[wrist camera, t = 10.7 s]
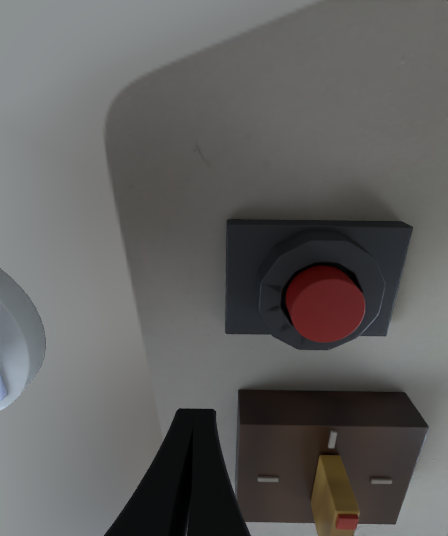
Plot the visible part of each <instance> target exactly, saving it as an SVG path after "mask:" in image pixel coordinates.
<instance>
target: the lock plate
mask: <svg viewBox="0 0 448 536" xmlns="http://www.w3.org/2000/svg"><path fill="white" fill-rule="evenodd" d="M428 430H429V426H428V425H427V423H426V422H425V420H424V419H423V417H422V416H421V415H420V413H419V412H418V410H417V409H416V407H415V406H414V404H413V403H412V402H411V400H410V399H409V397H408V396H407V394H406V393H405V392H340V391H274V390H238V413H237V441H236V470H235V497H236V500H237V502H238V505H239V508H240V510H241V513H242V515H243V518H244V520H245V522H284V523H315V521H314V517H313V512H312V508H311V498H312V492H313V487H314V482H315V477H316V472H317V466H318V461H319V456H320V455H340V457H341V459H342V462H343V465H344V468H345V471H346V474H347V476H348V479H349V482H350V485H351V488H352V491H353V493H354V496H355V499H356V502H357V505H358V508H359V510H360V514H359V517H358V518H359V521H358V524H396V521H397V518H398V515H399V512H400V510H401V507H402V504H403V501H404V498H405V495H406V492H407V490H408V487H409V484H410V481H411V478H412V475H413V473H414V470H415V467H416V464H417V461H418V458H419V455H420V453H421V450H422V447H423V444H424V441H425V438H426V435H427V433H428Z"/></svg>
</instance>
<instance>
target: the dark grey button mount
mask: <svg viewBox="0 0 448 536" xmlns="http://www.w3.org/2000/svg"><path fill="white" fill-rule="evenodd" d="M412 229H413V227H412V226H410V225H408V224H406V223H404V222H402V221H323V220H243V219H228V220H227V239H226V311H225V333H226V334H266V335H272V336H273V337H275V338H277V339H279V340H281V341H283V342H285V343H287V344H288V345H290V346H292V347H294V348H296V349H299V350H329V349H332V348H335V347H337V346H339V345H342V344H344V343H346V342H349V341H351V340H353V339H356V338H357V337H359V336H386V335H387V332H388V328H389V324H390V320H391V315H392V311H393V307H394V303H395V299H396V295H397V291H398V287H399V283H400V279H401V274H402V270H403V266H404V262H405V258H406V254H407V250H408V246H409V242H410V238H411V233H412ZM319 265H327V266H333V267H336V268H338V269H340V270H342V271H343V272H344V273H345V274H346V275H347V276H348V277H349V278H350V279H351V280H352V281H353V283H354V284H355V285H356V286H357V287H358V288H359V290H360V291H361V292H362V294H363V296H364V299H365V314H364V317H363V319H362V321H361V323H360V325H359V326H358V327H357V328H356V329H355V330H354V331H353V332H352V333H351V334H350V335H348V336H346V337H345V338H342V339H340V340H337V341H333V342H324V343H323V342H315V341H312V340H309V339H307V338H305V337H304V336H302V335H301V334H300V333H299V332H298V331H297V330H296V329H295V327H294V325H293V323H292V320H291V317H290V314H289V311H288V308H287V305H286V292H287V288H288V286H289V284H290V283H291V281H292V280H293V279H294V277H295V276H297V275H298V274H299V273H300V272H302V271H303V270H305V269H307V268H310V267H313V266H319Z"/></svg>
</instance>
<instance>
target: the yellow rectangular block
mask: <svg viewBox="0 0 448 536" xmlns="http://www.w3.org/2000/svg"><path fill="white" fill-rule="evenodd" d="M311 508H312V512H313V517H314V521H315V525H316V530H317V534H318V536H353V535H354V531H355V530H356V527H357V524H358V521H359V518H358V517H359V514H360V510H359V508H358V505H357V502H356V499H355V496H354V493H353V491H352V488H351V485H350V482H349V479H348V476H347V474H346V471H345V468H344V465H343V462H342V459H341V457H340V455H320V456H319V461H318V466H317V472H316V477H315V482H314V487H313V492H312V498H311Z"/></svg>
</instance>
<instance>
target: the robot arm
mask: <svg viewBox="0 0 448 536" xmlns="http://www.w3.org/2000/svg"><path fill="white" fill-rule="evenodd" d="M6 395H7V391H6V388H5V385H4V382H3V379H2V376H1V373H0V401H2V400H3V399H4V398H5V397H6ZM187 527H188V529H187ZM186 533H187V536H251V535H250V533H249V530H248V528H247V525H246V523H245V520H244V518H243V515H242V513H241V510H240V508H239V505H238V502H237V500H236V497H235V494H234V491H233V488H232V485H231V482H230V479H229V476H228V472H227V469H226V465H225V462H224V458H223V454H222V451H221V446H220V442H219V437H218V431H217V423H216V411H215V410H214V409H183V408H179V409H178V410H177V411H176V413H175V416H174V419H173V421H172V424H171V426H170V428H169V430H168V433H167V435H166V437H165V439H164V441H163V443H162V445H161V447H160V449H159V451H158V453H157V455H156V456H155V458H154V460H153V462H152V464H151V465H150V467H149V469H148V470H147V472H146V474H145V475H144V477H143V479H142V480H141V482H140V484H139V485H138V487H137V489H136V490H135V492H134V493H133V495H132V497H131V498H130V500H129V501H128V503H127V504H126V506H125V507H124V509H123V510H122V512H121V513H120V514H119V516H118V517H117V519H116V520H115V522H114V523H113V524H112V526H111V527H110V528H109V530H108V531H107V532H106V534H105V535H104V536H186Z"/></svg>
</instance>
